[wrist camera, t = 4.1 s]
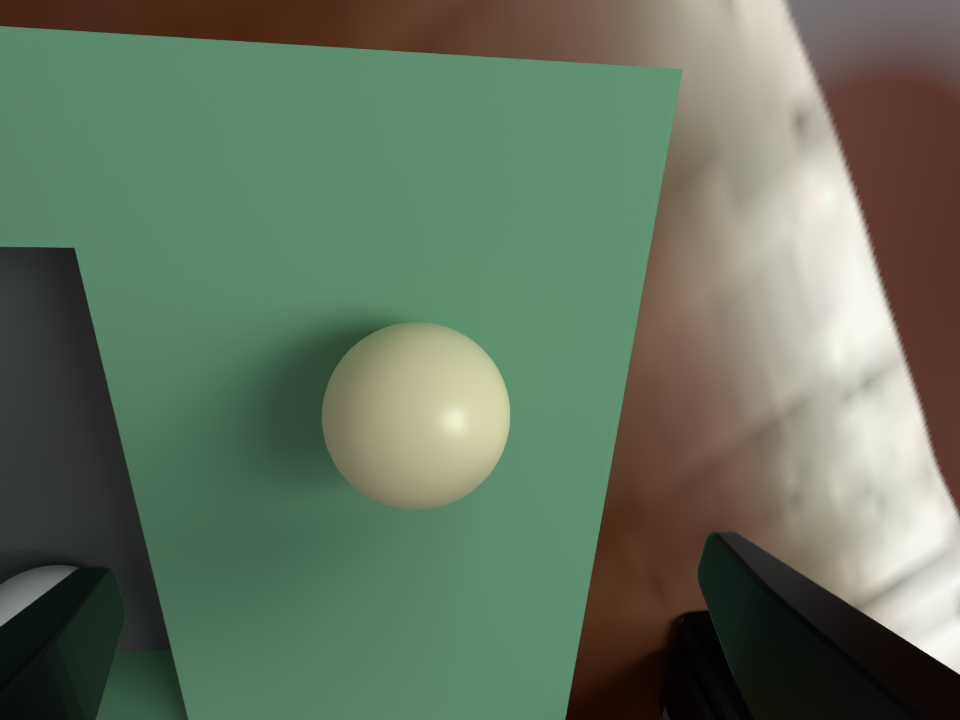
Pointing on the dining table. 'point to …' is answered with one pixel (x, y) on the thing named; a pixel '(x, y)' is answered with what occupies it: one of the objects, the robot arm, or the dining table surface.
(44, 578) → the white ball
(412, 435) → the yellow ball
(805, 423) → the dining table surface
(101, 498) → the putting mat
